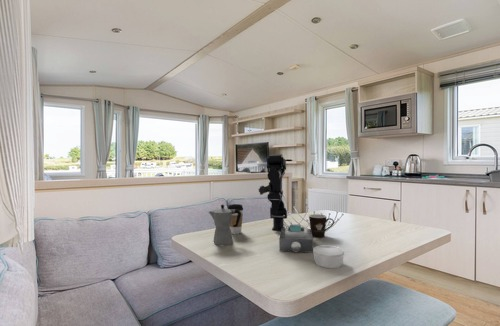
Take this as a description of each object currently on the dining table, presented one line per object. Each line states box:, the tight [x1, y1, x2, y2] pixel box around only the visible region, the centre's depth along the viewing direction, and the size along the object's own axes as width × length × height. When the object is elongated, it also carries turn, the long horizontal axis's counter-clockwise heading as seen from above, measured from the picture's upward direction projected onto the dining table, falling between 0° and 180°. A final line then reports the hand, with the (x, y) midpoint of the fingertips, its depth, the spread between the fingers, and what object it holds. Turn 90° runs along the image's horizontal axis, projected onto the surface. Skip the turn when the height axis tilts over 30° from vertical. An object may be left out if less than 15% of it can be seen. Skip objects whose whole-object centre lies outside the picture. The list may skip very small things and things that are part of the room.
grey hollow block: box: [278, 225, 314, 253], centre depth 121 cm, size 18×14×7 cm
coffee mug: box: [308, 213, 335, 239], centre depth 135 cm, size 12×9×10 cm
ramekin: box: [312, 244, 345, 269], centre depth 101 cm, size 11×11×5 cm
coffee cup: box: [227, 203, 244, 235], centre depth 144 cm, size 8×8×15 cm
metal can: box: [289, 223, 302, 231], centre depth 121 cm, size 5×5×8 cm
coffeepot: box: [208, 204, 241, 246], centre depth 128 cm, size 15×9×18 cm, turn 92°
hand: (275, 211), depth 135 cm, fingers open, 9 cm apart
